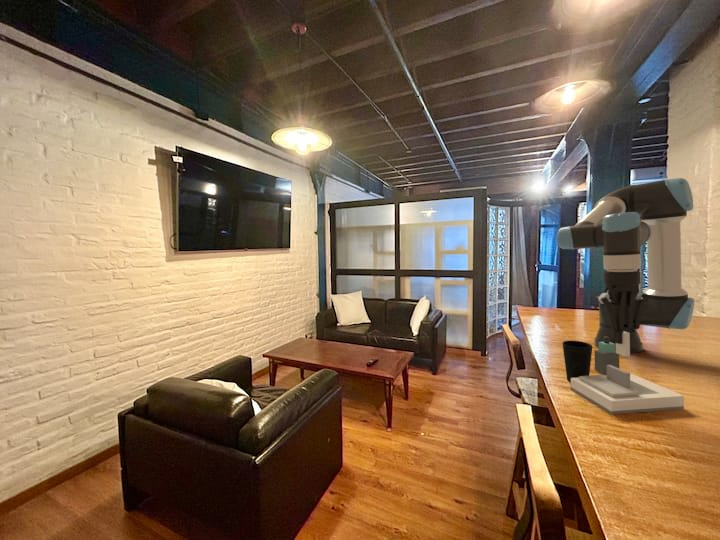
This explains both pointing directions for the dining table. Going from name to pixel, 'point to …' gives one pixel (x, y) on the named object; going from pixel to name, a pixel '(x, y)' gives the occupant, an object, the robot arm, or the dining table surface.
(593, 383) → the panel
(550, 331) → the dining table surface
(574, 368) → the cup
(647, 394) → the socket board
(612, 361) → the plug
